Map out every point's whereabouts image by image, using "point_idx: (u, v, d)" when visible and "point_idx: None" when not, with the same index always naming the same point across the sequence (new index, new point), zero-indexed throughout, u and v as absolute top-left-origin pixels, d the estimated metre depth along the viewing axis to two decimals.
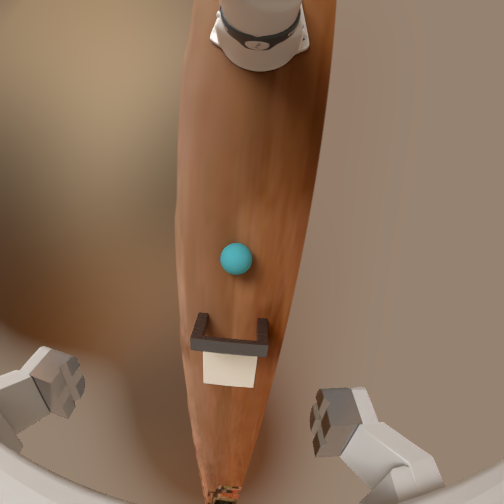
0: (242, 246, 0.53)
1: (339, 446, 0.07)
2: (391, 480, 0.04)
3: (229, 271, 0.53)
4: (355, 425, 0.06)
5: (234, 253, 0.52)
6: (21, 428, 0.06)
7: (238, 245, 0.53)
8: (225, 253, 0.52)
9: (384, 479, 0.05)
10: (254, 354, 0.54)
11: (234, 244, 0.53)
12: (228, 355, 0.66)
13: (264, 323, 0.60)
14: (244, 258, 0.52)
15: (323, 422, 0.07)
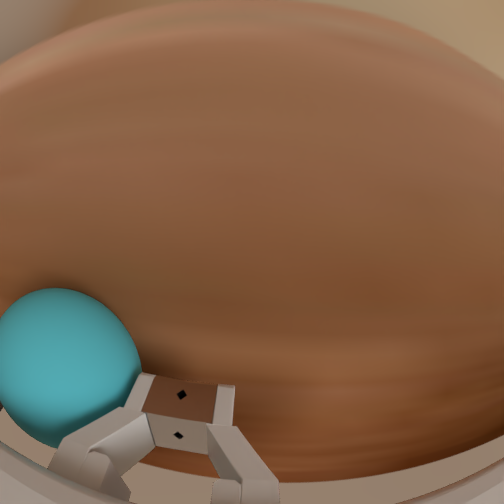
0: (29, 434, 0.06)
1: (199, 443, 0.07)
2: (212, 491, 0.04)
3: None
4: (204, 423, 0.06)
5: None
6: (120, 470, 0.06)
7: (16, 423, 0.05)
8: None
9: None
10: None
11: (13, 412, 0.05)
12: None
13: None
14: None
15: None
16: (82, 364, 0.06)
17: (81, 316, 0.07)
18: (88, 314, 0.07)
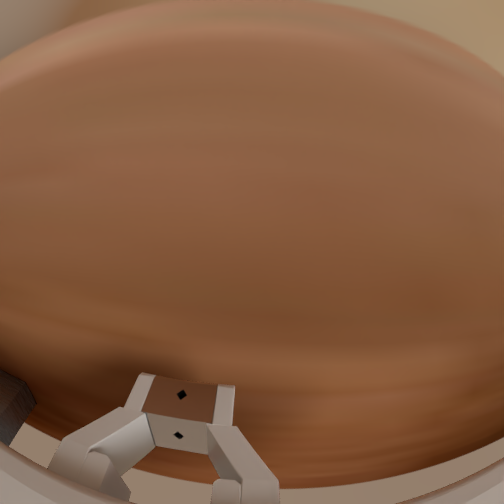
0: None
1: (199, 443, 0.07)
2: (212, 491, 0.04)
3: None
4: (204, 423, 0.06)
5: None
6: (120, 470, 0.06)
7: None
8: None
9: None
10: None
11: None
12: None
13: (18, 417, 0.10)
14: None
15: None
16: None
17: None
18: None
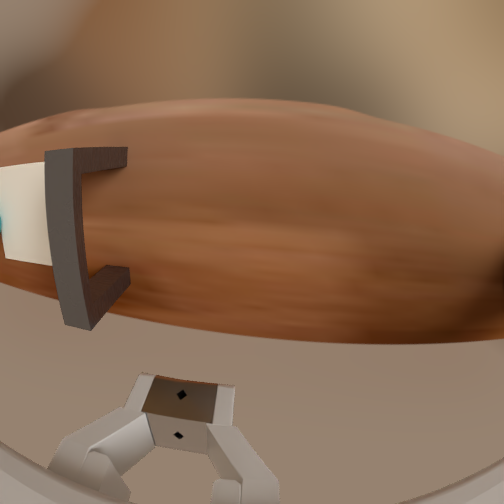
0: None
1: (199, 443, 0.07)
2: (212, 491, 0.04)
3: None
4: (204, 423, 0.06)
5: None
6: (120, 470, 0.06)
7: None
8: None
9: None
10: (63, 302, 0.20)
11: None
12: None
13: (122, 286, 0.28)
14: None
15: None
16: None
17: None
18: None
